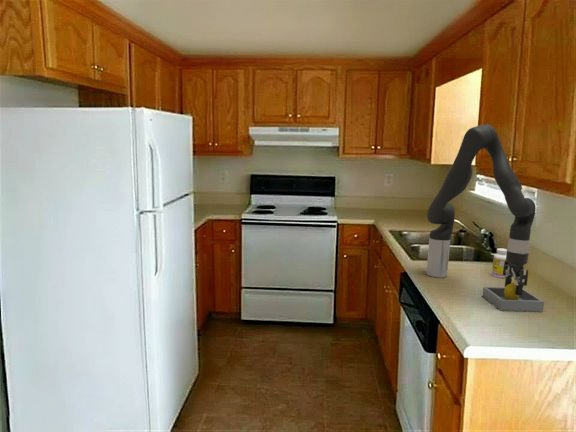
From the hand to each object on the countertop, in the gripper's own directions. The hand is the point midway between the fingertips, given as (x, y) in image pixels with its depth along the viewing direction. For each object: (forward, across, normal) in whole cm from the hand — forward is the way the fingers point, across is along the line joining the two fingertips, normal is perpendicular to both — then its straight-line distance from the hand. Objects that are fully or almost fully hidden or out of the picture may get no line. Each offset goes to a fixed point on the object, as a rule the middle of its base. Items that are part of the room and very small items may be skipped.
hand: (512, 291), depth 187 cm
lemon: (+5, 0, 0) cm, 5 cm away
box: (+5, 0, 0) cm, 5 cm away
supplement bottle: (+5, -38, +13) cm, 41 cm away
